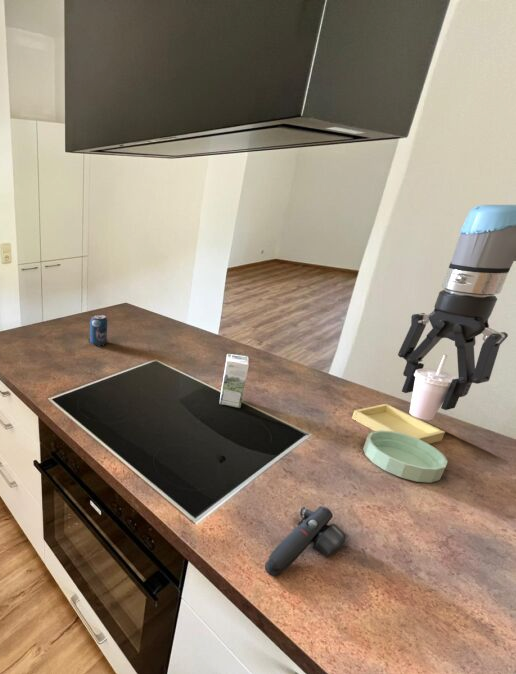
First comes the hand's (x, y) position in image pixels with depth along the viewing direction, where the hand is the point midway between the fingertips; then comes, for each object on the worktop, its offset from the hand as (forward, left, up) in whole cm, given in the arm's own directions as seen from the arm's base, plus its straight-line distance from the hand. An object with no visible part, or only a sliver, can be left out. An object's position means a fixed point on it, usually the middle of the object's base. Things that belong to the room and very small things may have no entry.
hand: (427, 399), depth 75 cm
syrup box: (+33, +19, -17) cm, 42 cm away
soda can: (+88, +40, -17) cm, 98 cm away
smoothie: (0, 0, -4) cm, 4 cm away
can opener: (-11, +41, -17) cm, 45 cm away
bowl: (0, 0, -17) cm, 17 cm away
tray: (+10, -12, -17) cm, 23 cm away
